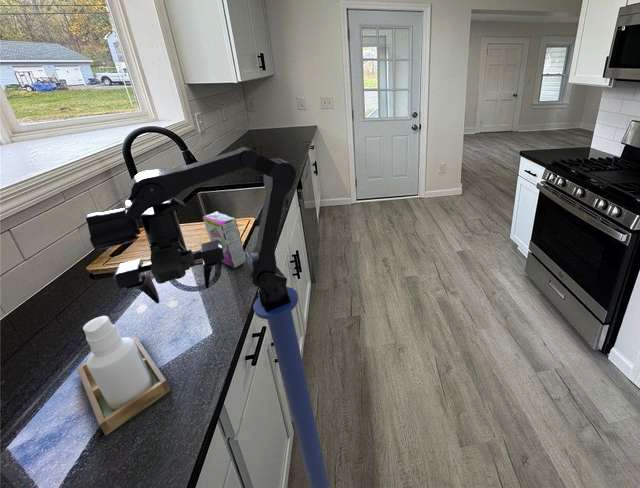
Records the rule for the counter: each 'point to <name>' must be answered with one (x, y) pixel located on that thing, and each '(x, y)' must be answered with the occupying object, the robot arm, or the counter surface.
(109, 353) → the spray bottle
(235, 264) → the candy bar box
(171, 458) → the counter surface
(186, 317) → the counter surface
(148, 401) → the holder
